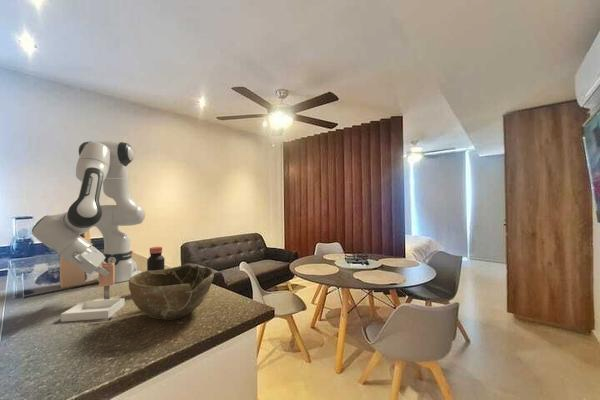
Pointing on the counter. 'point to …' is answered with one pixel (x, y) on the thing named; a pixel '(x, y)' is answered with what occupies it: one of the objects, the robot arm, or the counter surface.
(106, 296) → the peg stand
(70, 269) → the tan rectangular block
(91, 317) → the tray
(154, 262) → the bottle
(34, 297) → the counter surface
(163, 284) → the bowl
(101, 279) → the sleeve
